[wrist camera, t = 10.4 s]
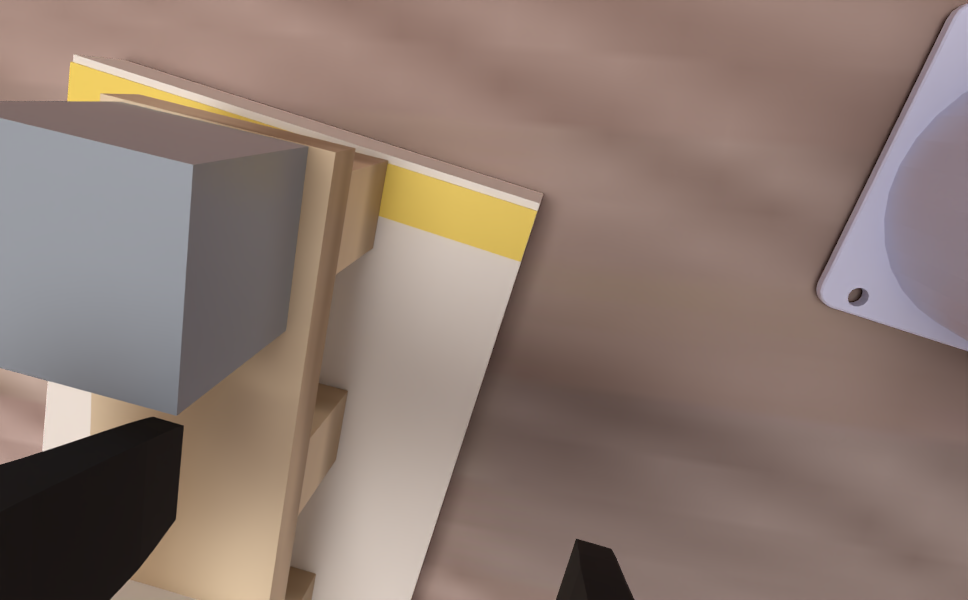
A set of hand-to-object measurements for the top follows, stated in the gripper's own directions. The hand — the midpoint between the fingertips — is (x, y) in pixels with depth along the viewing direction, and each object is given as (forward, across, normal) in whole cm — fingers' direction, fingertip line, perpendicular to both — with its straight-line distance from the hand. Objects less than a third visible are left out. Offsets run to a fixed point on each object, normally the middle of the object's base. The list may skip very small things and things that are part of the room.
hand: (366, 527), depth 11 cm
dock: (+9, +6, +3) cm, 11 cm away
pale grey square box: (+3, +5, -4) cm, 7 cm away
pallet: (+7, +5, +3) cm, 9 cm away
